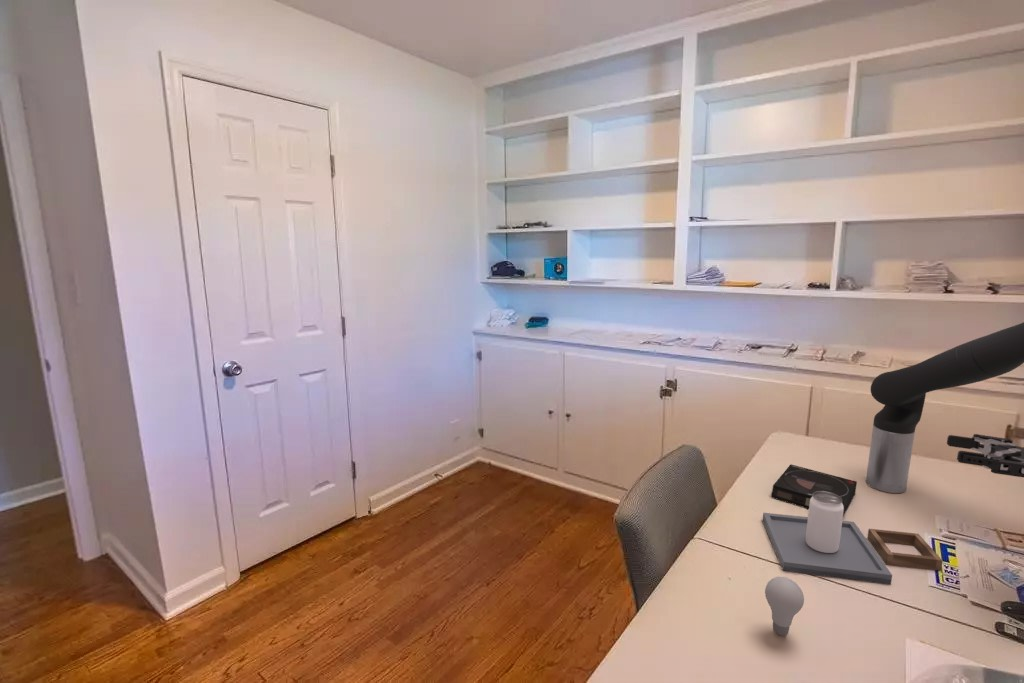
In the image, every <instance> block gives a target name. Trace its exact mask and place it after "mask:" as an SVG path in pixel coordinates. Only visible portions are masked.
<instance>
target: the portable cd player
mask: <svg viewBox="0 0 1024 683" xmlns="http://www.w3.org/2000/svg"><path fill="white" fill-rule="evenodd" d="M857 483H858V481H856V480H851V479H848V478H844V477H841V476H836V475H833V474H829V473H826V472H822V471H818V470H815V469H810V468H806V467H804V466H803V467H802V466H798V465H795V464H792V463H790V464H789V465H788V467H787V468H786V469H785V471H784V472H783V473H782V474H781V475H780V476H779V477H778V479H777V480H776V481H775V482H774V483H773V485H772V490H771V498H772V497H774V498H773V499H776V498H777V500H779V499H780V500H779V501H782V500H783V501H782V502H785V501H786V503H788V504H789V503H790V504H792V503H793V504H792V505H795V504H796V506H798V505H799V507H802V508H804V509H808V508H809V504H810V499H811V497H812V496H813V493H814V492H816V491H826V492H830V493H833V494H836V495H838V496H839V497H841V498H842V504H843V506H844V511H843V517H844V516H845V515H846V512H847V511H848V509H849V507H850V505H851V502H853V501H852V500H853V499H854V497H855V495H856V491H857Z"/></svg>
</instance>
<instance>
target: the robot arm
mask: <svg viewBox="0 0 1024 683" xmlns="http://www.w3.org/2000/svg"><path fill="white" fill-rule="evenodd" d="M1023 364H1024V322H1021V323H1019V324H1015V325H1012V326H1009V327H1007V328H1003V329H1000V330H998V331H997V330H996V331H995V332H992V333H989V334H987V335H983V336H980V337H978V338H974V339H971V340H970V341H966V342H964V343H962V344H959V345H957V346H954V347H952V348H949V349H947V350H944V351H942V352H940V353H937V354H935V355H934V356H931V357H929V358H927V359H926V360H923V361H921V362H918V363H916V364H913V365H910V366H907V367H903V368H899V369H895V370H891V371H886V372H883V373H880V374H879V375H877V376H876V377H875V378H874V379H873V380H872V382H871V385H870V394H871V396H872V398H873V399H874V400H875V401H877V402H878V403H879V404H882V405H884V406H883V407H882V409H880V410H879V411H878V412H877V413H875V415H874V417H873V424H872V431H871V438H870V448H869V455H868V461H867V470H866V476H865V477H866V478H865V484H866V485H868V486H869V487H871V488H873V489H875V490H878V491H882V492H885V493H890V494H891V493H892V494H902V493H905V492H906V491H907V485H908V479H909V473H910V467H911V466H910V465H911V459H912V452H913V446H914V439H915V434H916V428H917V425H918V424H919V422H920V421H921V419H922V414H923V410H924V406H925V401H926V400H925V399H926V396H927V393H930V392H933V391H934V392H935V391H938V390H944V389H949V388H957V387H962V386H966V385H971V384H975V383H979V382H982V381H985V380H988V379H989V380H990V379H993V378H996V377H999V376H1003V375H1005V374H1007V373H1009V372H1012V371H1014V370H1016V369H1017V368H1019V367H1020V366H1021V365H1023ZM1013 442H1014V440H1013V439H1011V438H1005V437H1004V438H1003V437H997V436H991V435H985V434H978V433H973V435H972V436H971V437H968V436H961V435H952V434H950V435H948V436H947V439H946V444H947V446H948V447H954V448H960V449H968V450H973V451H976V452H973V451H966V450H959V451H957V456H956V460H957V461H958V463H960V464H961V463H962V464H968V465H974V466H980V467H983V468H984V469H986V470H990V472H991V473H993V474H994V475H995V474H996V475H1002V476H1010V477H1011V476H1012V477H1018V478H1024V447H1022V446H1018V445H1017V444H1015V443H1013Z"/></svg>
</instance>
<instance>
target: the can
mask: <svg viewBox="0 0 1024 683" xmlns="http://www.w3.org/2000/svg"><path fill="white" fill-rule="evenodd" d="M843 511H844V506H843V504H842V498H841V497H839V496H838V495H836V494H833V493H830V492H826V491H816V492H814V493H813V496H812V497H811V499H810V504H809V509H808V511H807V512H808V513H807V514H808V515H807V517H808V521H807V530H806V543H807V544H808V546H809V547H810V548H812V549H813V550H815V551H818V552H821V553H826V554H831V553H835V552H837V551H838V549H839V543H840V535H841V527H842V521H843V519H844V516H843Z"/></svg>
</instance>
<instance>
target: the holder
mask: <svg viewBox="0 0 1024 683" xmlns="http://www.w3.org/2000/svg"><path fill="white" fill-rule="evenodd" d="M867 541H868V542H869V543H870V545H871V546H873V547H872V548H873V549H874V550H875V552H876V553H877V554H878V556H879V557H880V559H881V560H882V561H884V562H883V563H884V564H885V566H886V565H887V566H894V567H903V568H911V569H912V568H913V569H919V570H920V569H921V570H930V571H937V570H938V571H939V572H941V571H942V566H943V562H944V561H943V559H942V558H941V557H940V556H939V555H938V554H937V553H936V552H935V550H934V549H933V548H932V547H931V546H930V545H929V544H928V543H927V542H926V541H925V539H924V538H923V537H922V536H921V534H919V533H916V532H915V533H913V532H907V531H905V532H904V531H896V530H895V531H894V530H884V529H876V528H868V531H867ZM887 543H888V544H897V545H906V546H914V547H915V549H916V550H917V551H918V552H919V553H920V554H921V555H919V554H910V553H902V552H895V551H893V552H892V551H891V549H890V548H889V547H888V546H887Z"/></svg>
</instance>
